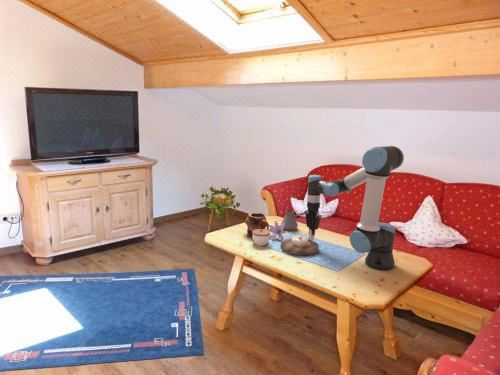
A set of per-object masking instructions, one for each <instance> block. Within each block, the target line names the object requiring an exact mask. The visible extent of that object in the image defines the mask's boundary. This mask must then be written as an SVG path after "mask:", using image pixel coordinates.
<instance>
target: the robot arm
mask: <svg viewBox="0 0 500 375" xmlns="http://www.w3.org/2000/svg"><path fill="white" fill-rule="evenodd" d="M404 158H405V156H404V153H403V151H402V150H401V149H400V148H399V147H397V146H394V145H388V146H387V145H386V146H374V147H371V148H369V149H367V150H366V151H365V152H364V153H363V156H362V159H361V160H362V161H361V162H362V166H363V167H361V168H359V169H357V170H355V171H353V172H352V173H350V174H348V175H346V176H345V177H344V178H341V179H339V180H329V181H326V180H323V179H322V175H320V174H319V175H318V174H310V175H309V176H308V180H307V198H306V200H307V202H306V208H307V210H304V213H305V214H304V215H305V222H306V224H305V225H306V228H308V239H309V240H312V241H315V235H316V230H318V229H319V225H320V222H321V218H322V217H323V215H322V214H320V211H319V210H320V209H321V208H320V207H321V195H324V196H328V197H336V196H337V195H338V194H343V193H349V192H351V191H352V190H353V189H354V188H356V187H358V186H360V185H362V184H364V183H365V191H364V196H363V203H362V208H361V214H360V221H359V222H357V223H356V226H355V230H354V231H352V232H351V233H350V235H349V243H350V245H351V247H352V248H353V249H354V251H356V252H357V253H361V254H365V253H367V254H366V256H365V258H364V259H365V260H364V264H365V265H366V266H367V267H368V268H371V269H375V270H379V271H391V270H393V269H394V268H395V265H396V263H395V257H394V254H393V251H394V244H395V243H394V242H395V236H396V235H395V234H396V229H395V228H396V227H395V226H394V225H392V224H390V223H386V222H381V221H379V219H380V214H381V208H382V202H383V197H384V191H385V186H386V180H387V179H388V178H390V176H391V172H392V171H394V170H396V169H398V168H400V167H401V166H402V165H403V163H404V160H405V159H404Z"/></svg>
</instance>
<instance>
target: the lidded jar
mask: <svg viewBox="0 0 500 375" xmlns="http://www.w3.org/2000/svg"><path fill="white" fill-rule="evenodd" d="M270 235H271V232H270V231H268V230H266V228H265V229H256V230H253V231H252V237H251V238H252V241H253V242H254V243H255V245H256V246H260V247H262V246H263V247H264V246H265V245H267V243H268V242H269V240H270V239H269V238H270Z"/></svg>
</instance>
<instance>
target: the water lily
mask: <svg viewBox="0 0 500 375" xmlns="http://www.w3.org/2000/svg"><path fill="white" fill-rule="evenodd" d="M284 226H285V222H284V223H283V224H282V225H281V224H280V225H279V222H278V221H277V220H274V225H270V224H269V229H268V231H270V233H271V234H270V238H269V240H274V239H277V238H278V240H280V242H282V241H283V240H285V239H284V237H283V235H285V234H286V235H287V234H288V230H284V229H283V228H284Z"/></svg>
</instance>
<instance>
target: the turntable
mask: <svg viewBox="0 0 500 375" xmlns="http://www.w3.org/2000/svg"><path fill="white" fill-rule="evenodd" d="M280 249H281V250H282V251H283V252H285V253H288V254H291V255H295V256H296V255H298V256H310V255H313V254H316V253H318V252H319V244H318V243H317V242H316V241H315V240H309V238H307V246H305V247H296V246H293V245H292V237H290V238H286V239H284V240H283V241H280Z"/></svg>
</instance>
